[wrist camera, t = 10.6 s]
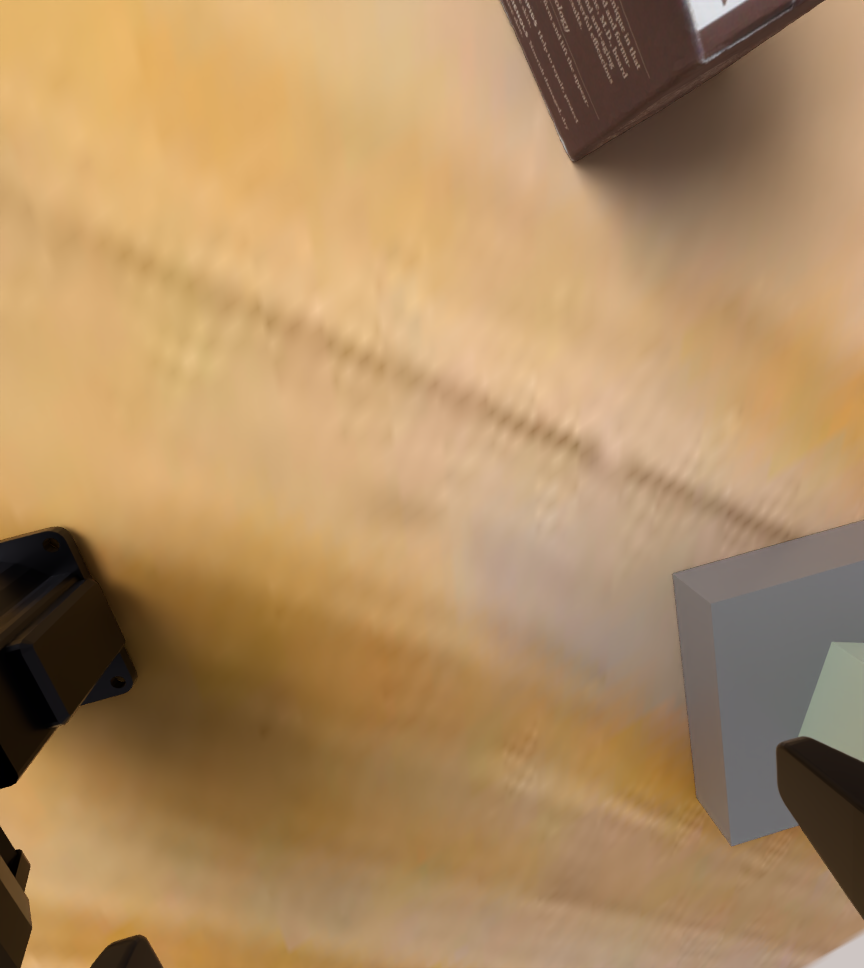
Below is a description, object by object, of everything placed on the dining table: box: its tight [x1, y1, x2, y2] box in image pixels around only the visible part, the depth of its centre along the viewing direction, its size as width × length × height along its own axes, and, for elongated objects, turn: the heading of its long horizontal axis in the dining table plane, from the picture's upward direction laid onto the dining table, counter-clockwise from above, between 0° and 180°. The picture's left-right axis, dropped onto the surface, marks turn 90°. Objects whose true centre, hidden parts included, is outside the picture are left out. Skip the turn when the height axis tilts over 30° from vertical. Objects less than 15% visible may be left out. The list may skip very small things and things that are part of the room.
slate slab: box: [673, 520, 864, 846], centre depth 23 cm, size 12×12×2 cm
